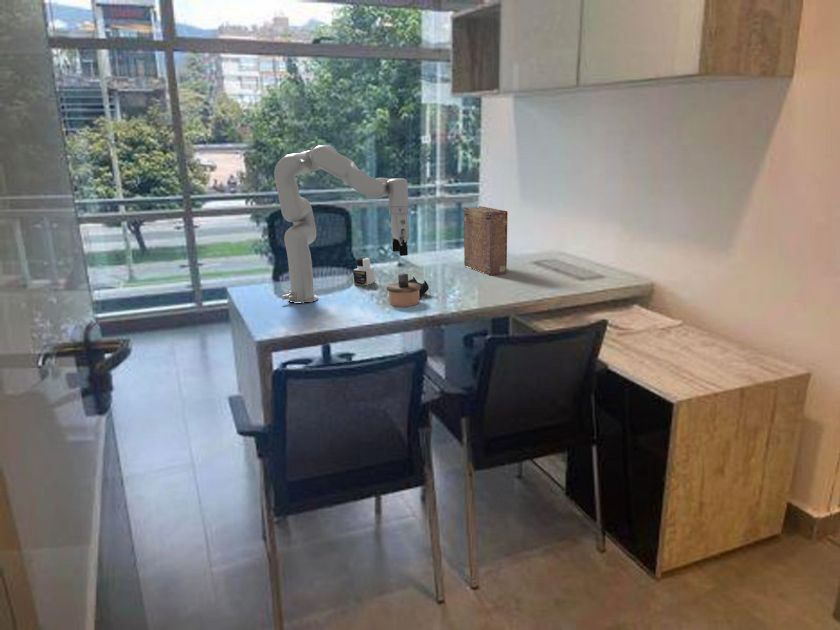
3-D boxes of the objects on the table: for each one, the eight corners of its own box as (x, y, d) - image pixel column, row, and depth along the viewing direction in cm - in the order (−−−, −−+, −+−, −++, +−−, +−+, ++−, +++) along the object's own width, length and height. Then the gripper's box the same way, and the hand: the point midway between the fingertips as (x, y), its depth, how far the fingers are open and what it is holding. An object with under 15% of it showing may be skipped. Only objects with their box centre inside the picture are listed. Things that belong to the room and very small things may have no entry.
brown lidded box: (464, 266, 320) (463, 207, 312) (479, 264, 324) (479, 206, 316) (490, 275, 298) (490, 212, 290) (506, 273, 302) (507, 211, 294)
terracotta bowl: (405, 308, 248) (404, 293, 246) (383, 303, 256) (383, 289, 254) (425, 301, 257) (424, 287, 255) (403, 297, 264) (403, 283, 263)
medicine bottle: (353, 284, 289) (352, 259, 286) (362, 281, 295) (360, 256, 292) (366, 285, 286) (365, 260, 282) (375, 282, 292) (373, 257, 288)
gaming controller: (417, 304, 262) (434, 289, 265) (411, 294, 259) (428, 279, 262) (397, 296, 276) (413, 282, 279) (391, 286, 273) (407, 272, 276)
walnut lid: (404, 294, 245) (404, 280, 243) (379, 289, 254) (378, 275, 252) (427, 287, 255) (427, 273, 253) (402, 282, 264) (402, 269, 262)
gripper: (414, 212, 239) (415, 256, 244) (401, 207, 255) (402, 249, 260) (395, 213, 237) (397, 258, 242) (383, 208, 253) (385, 250, 258)
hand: (400, 253), depth 251 cm, fingers open, 9 cm apart
